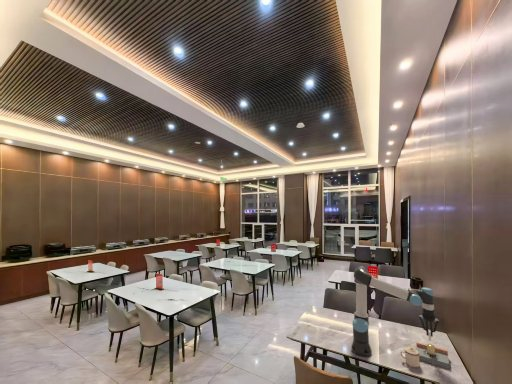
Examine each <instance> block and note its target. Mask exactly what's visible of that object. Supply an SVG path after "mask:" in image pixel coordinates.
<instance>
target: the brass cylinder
mask: <svg viewBox="0 0 512 384" xmlns="http://www.w3.org/2000/svg"><path fill="white" fill-rule="evenodd" d="M426 345H427V349H428V355H430V356H432V357H435V347H436V346H435V345H433V344H431V343H427V344H426Z"/></svg>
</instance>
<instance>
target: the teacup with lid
mask: <svg viewBox="0 0 512 384" xmlns="http://www.w3.org/2000/svg"><path fill="white" fill-rule="evenodd" d="M402 353H404V355H405V356H404V355H403V354H402ZM400 356H401V357H402V358H403V359H405V363H406V364H407V366H410V367H412V368H419V367H420V364H421V363H420V360H419V352H418V351H417V350H416V348H414V347H413V346H410V347H405V348H404V350H401V351H400Z"/></svg>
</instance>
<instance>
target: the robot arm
mask: <svg viewBox="0 0 512 384" xmlns="http://www.w3.org/2000/svg"><path fill="white" fill-rule="evenodd" d="M353 279H354V280H353V281H354V283H355V294H356V295H355V311H354V312H353V315H354V316H353V320H352V332H353V333H352V339H353V340H352V343H351V351H352V353H353V354H355V355H356V356H359V357H364V358H366V357H367V358H368V357H371V356H372V353H373V352H372V348H371V345H370V337H369V326H370V321H369V320H370V317H369V316H370V315H369V314H368V313H367V312H368V311H367V310H368V305H367V304H368V303H367V301H368V298H367V297H368V294H367V291H368V287H369V288H370V287H372V288H375V289H377V290H379V291H382V292H383V293H387V294H389V295H392V296H394V297H397V298H399V299H402V300H403V301H407V302H409V303H411V304H412V306H413V305H414V306H416V307H418V306H420V305H421V306H422V308H421V309H422V313H421V315H418V319H419V320H420V323H421V326H422V329H423V330H424V331H426V336H427V337H428V341H429V342H432V337H433V335H434V333H436V331H437V327H438V324H439V322H440V320H439V319H438V318H436V316H435V304H434V303H435V301H434V291H433V289H432V288H429V287H421V289H414V288H402V287H400V286H396V285H394V284H392V283H389V282H387V281H384V280H382V279H380V278H376V277H374V275H372V274H370V272H369V270H368V269H367V268H366V267H365V266H362V265H361V266H357V267H356V268H355V269H354V272H353ZM424 320H425V322H424ZM433 322H435V323H434V326H433ZM429 326H430V327H429ZM429 328H430V329H429Z"/></svg>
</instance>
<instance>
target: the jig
mask: <svg viewBox="0 0 512 384" xmlns="http://www.w3.org/2000/svg"><path fill="white" fill-rule="evenodd" d="M415 345H416V346H415V347H416V348H415V350H417V351H418V352H419V361H422V362H426V363H428V364H431V365H435V366H439V367H441V368H445V369H447V370H448V369H449V370H450V361H449V353H448V352H449V351H448V349H444V348H440V347H438V346H437V347H436V346H435V357H432V356H430V355H428V349H427V344H426V343H422V342H418V341H416V343H415Z"/></svg>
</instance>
